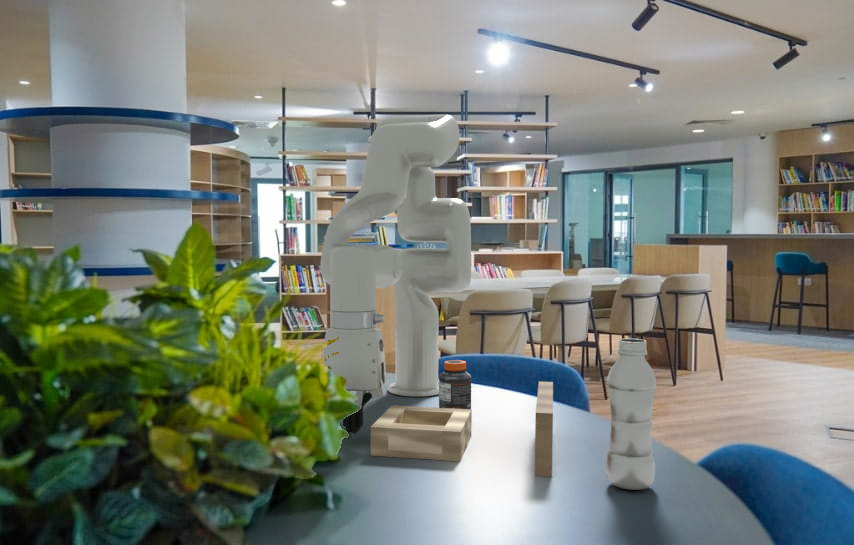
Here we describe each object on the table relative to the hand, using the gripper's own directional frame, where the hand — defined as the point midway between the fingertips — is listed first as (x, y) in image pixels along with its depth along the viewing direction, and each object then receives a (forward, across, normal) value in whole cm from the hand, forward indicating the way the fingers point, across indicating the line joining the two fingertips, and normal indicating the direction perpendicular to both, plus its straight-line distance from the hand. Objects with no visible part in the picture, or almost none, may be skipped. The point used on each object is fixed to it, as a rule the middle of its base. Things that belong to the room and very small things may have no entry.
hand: (353, 430), depth 112 cm
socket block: (+2, -12, 0) cm, 12 cm away
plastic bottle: (+2, -43, +13) cm, 45 cm away
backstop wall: (+2, -31, 0) cm, 31 cm away
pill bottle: (+2, -15, -15) cm, 21 cm away
